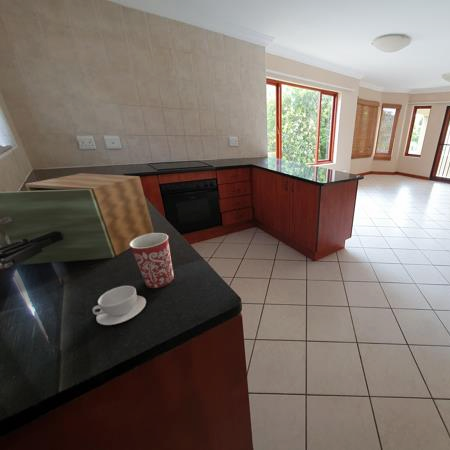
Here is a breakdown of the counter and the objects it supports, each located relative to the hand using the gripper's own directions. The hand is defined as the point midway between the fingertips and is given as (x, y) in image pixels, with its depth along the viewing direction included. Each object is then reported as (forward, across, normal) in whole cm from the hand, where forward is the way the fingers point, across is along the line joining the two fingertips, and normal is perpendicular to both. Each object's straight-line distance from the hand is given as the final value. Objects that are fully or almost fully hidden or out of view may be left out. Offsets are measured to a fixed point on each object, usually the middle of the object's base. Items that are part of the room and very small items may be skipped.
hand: (58, 235), depth 74 cm
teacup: (-16, +35, -10) cm, 40 cm away
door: (-2, 0, -10) cm, 10 cm away
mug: (-2, +35, -10) cm, 37 cm away
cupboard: (+15, -2, -10) cm, 18 cm away
